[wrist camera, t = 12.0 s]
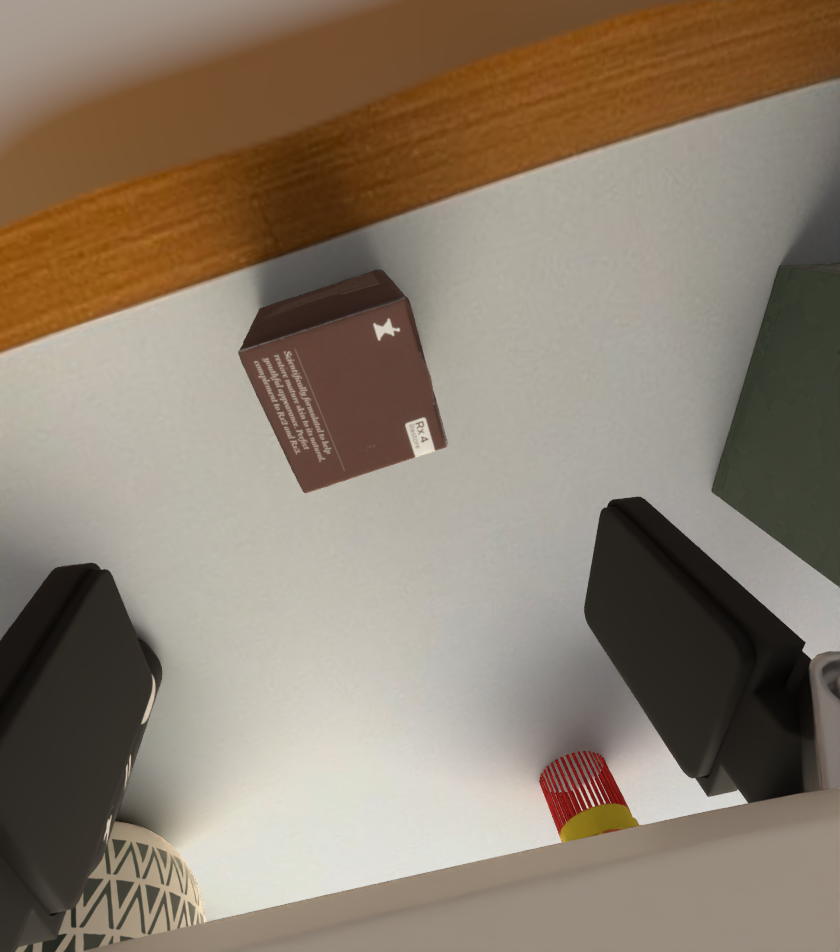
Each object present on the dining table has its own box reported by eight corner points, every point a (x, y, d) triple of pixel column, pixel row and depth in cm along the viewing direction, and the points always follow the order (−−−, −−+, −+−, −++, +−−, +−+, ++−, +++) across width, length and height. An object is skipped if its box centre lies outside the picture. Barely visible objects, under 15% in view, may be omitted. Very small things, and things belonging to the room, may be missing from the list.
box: (256, 305, 23) (231, 346, 16) (384, 265, 23) (409, 291, 16) (306, 424, 26) (301, 498, 19) (418, 388, 26) (450, 450, 19)
